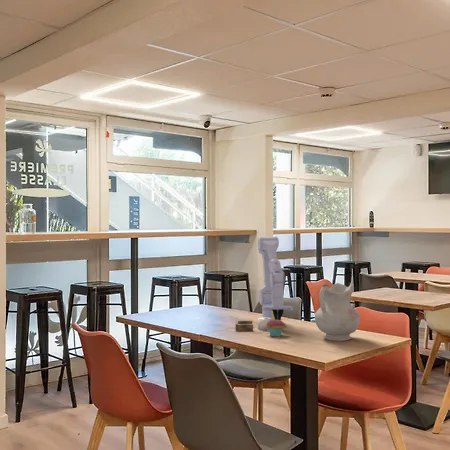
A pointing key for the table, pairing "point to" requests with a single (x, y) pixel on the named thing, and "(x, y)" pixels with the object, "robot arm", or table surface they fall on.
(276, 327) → the cupcake
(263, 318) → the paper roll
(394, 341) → the table surface
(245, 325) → the holder
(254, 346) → the table surface
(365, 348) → the table surface
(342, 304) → the ceramic pitcher
